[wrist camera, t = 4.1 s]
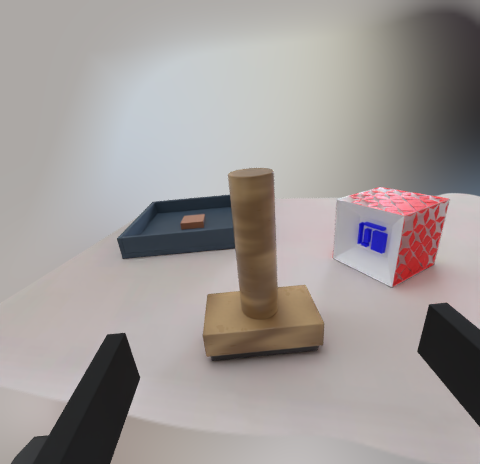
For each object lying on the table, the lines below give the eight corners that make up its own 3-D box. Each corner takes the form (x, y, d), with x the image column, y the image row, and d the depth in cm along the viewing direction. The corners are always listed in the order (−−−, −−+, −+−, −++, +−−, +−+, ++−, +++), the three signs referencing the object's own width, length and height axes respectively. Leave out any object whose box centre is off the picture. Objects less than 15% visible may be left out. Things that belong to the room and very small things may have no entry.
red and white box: (434, 264, 30) (450, 198, 27) (392, 287, 27) (404, 216, 24) (372, 241, 37) (379, 186, 33) (332, 258, 33) (336, 198, 30)
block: (181, 229, 45) (180, 223, 44) (184, 221, 49) (183, 215, 48) (204, 227, 45) (203, 221, 44) (205, 219, 49) (205, 213, 48)
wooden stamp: (207, 364, 20) (174, 186, 14) (211, 319, 24) (187, 171, 19) (322, 353, 20) (333, 172, 15) (305, 310, 25) (307, 160, 19)
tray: (122, 258, 38) (116, 238, 37) (155, 216, 56) (152, 201, 55) (251, 246, 38) (249, 226, 37) (243, 208, 56) (242, 193, 55)
